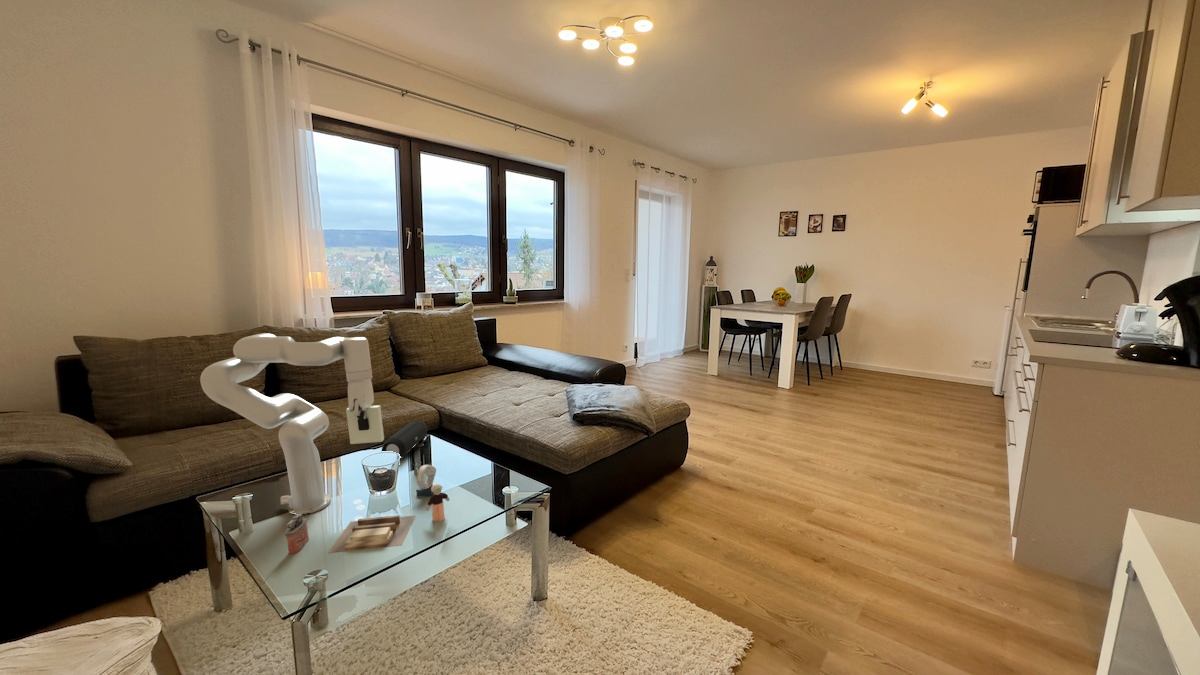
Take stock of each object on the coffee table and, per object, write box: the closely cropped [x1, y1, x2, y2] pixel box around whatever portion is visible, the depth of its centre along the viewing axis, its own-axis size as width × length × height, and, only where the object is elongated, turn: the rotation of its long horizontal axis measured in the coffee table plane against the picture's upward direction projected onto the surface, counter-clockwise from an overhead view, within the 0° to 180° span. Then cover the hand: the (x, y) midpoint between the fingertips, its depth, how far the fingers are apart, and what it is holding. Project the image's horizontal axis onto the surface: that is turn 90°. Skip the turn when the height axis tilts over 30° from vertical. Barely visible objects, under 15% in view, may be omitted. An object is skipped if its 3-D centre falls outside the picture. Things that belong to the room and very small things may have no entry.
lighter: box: [284, 514, 310, 555], centre depth 134 cm, size 8×3×10 cm, turn 5°
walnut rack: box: [328, 514, 417, 554], centre depth 140 cm, size 20×16×4 cm
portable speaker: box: [381, 420, 428, 458], centre depth 204 cm, size 26×10×10 cm, turn 176°
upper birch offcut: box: [350, 527, 391, 542], centre depth 136 cm, size 10×4×2 cm, turn 97°
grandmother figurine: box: [425, 482, 450, 522], centre depth 146 cm, size 8×4×13 cm, turn 148°
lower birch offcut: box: [345, 531, 393, 548], centre depth 136 cm, size 12×4×2 cm, turn 97°
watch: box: [416, 464, 437, 497], centre depth 163 cm, size 6×8×11 cm
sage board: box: [345, 404, 385, 445], centre depth 155 cm, size 10×2×12 cm, turn 97°
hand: (365, 427), depth 156 cm, fingers closed on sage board, 2 cm apart
